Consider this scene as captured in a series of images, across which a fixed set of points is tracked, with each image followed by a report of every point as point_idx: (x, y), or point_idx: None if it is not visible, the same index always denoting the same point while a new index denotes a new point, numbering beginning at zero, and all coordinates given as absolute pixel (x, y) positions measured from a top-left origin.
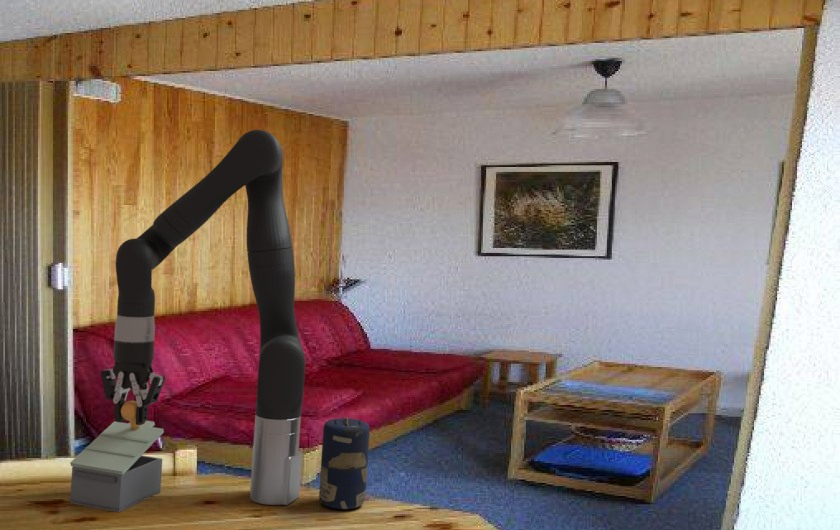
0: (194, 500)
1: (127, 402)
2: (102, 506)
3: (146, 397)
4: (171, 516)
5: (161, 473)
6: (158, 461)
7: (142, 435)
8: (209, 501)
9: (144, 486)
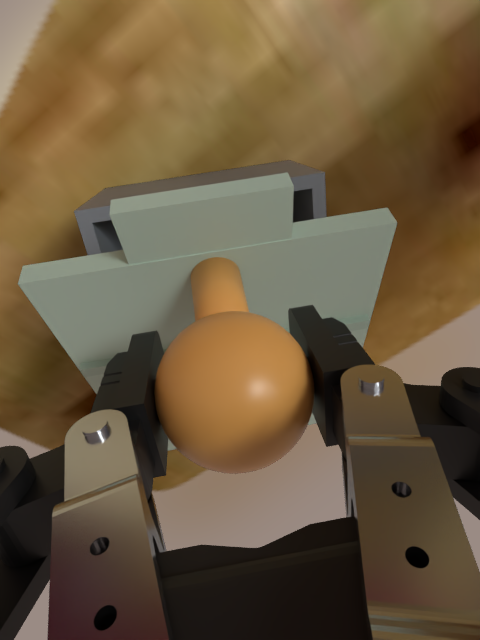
0: (424, 153)
1: (228, 468)
2: None
3: (470, 508)
4: (430, 294)
5: (307, 166)
6: (324, 202)
7: (301, 300)
8: (471, 131)
9: None
